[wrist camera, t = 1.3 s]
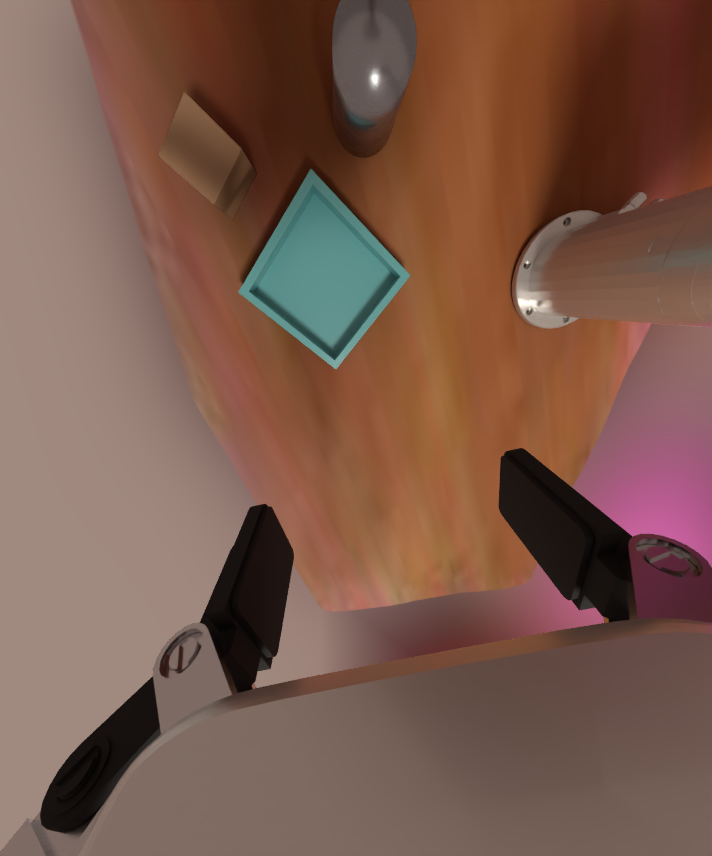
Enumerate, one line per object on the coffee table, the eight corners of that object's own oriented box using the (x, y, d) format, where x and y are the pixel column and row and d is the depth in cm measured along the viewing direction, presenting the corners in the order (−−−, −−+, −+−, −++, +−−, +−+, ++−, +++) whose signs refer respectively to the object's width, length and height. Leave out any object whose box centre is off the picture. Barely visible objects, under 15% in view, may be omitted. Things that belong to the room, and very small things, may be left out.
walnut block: (210, 128, 25) (184, 91, 21) (256, 174, 27) (241, 148, 22) (187, 179, 27) (158, 155, 22) (232, 219, 28) (213, 204, 24)
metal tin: (359, 49, 24) (370, -59, 16) (405, 112, 26) (433, 40, 19) (320, 119, 25) (315, 48, 18) (366, 173, 27) (377, 128, 20)
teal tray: (313, 181, 27) (310, 168, 25) (403, 277, 32) (410, 275, 29) (246, 292, 31) (238, 292, 29) (335, 364, 36) (335, 369, 33)
